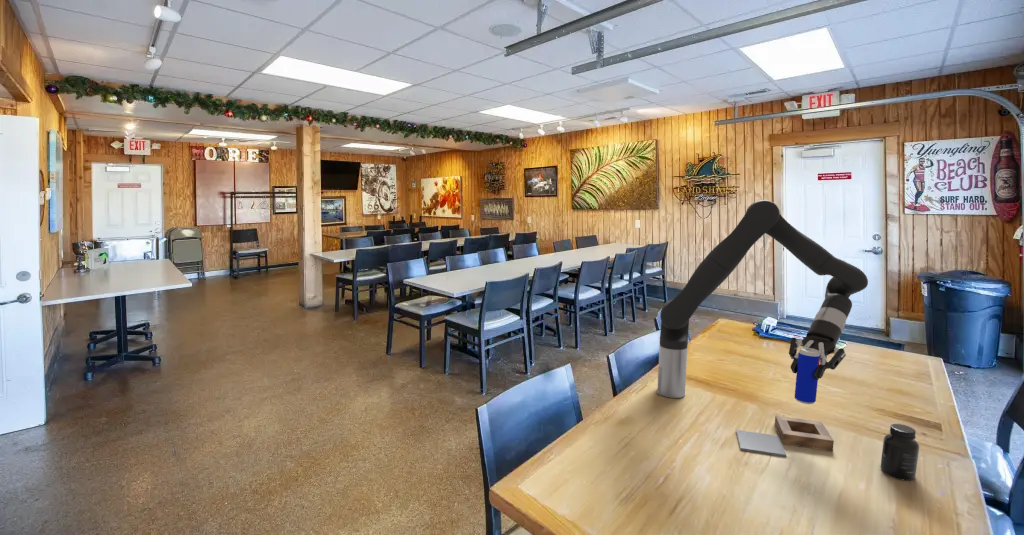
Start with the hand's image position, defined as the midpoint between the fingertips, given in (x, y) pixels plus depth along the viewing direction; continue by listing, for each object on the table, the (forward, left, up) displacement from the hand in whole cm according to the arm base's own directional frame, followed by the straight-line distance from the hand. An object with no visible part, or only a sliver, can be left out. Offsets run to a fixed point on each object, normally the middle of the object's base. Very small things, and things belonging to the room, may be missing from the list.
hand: (804, 374), depth 133 cm
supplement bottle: (+19, -12, -19) cm, 30 cm away
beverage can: (+1, +2, -8) cm, 9 cm away
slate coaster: (-11, -7, -19) cm, 23 cm away
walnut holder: (+1, +1, -19) cm, 19 cm away
